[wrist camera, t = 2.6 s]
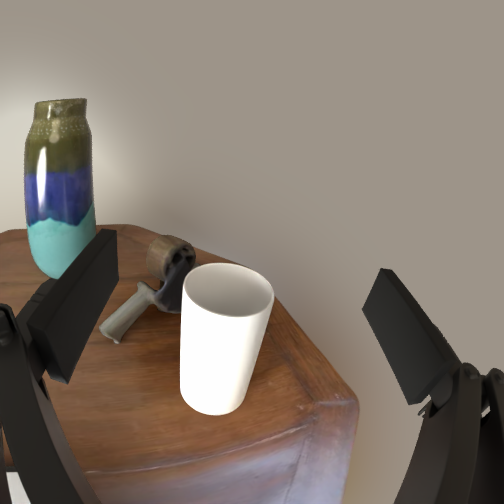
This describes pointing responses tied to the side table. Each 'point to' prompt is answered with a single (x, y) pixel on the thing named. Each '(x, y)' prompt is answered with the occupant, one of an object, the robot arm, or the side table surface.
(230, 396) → the cup
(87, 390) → the side table surface
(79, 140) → the vase
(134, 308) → the grey two-tone handled device
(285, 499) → the side table surface
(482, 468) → the robot arm
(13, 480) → the scale
